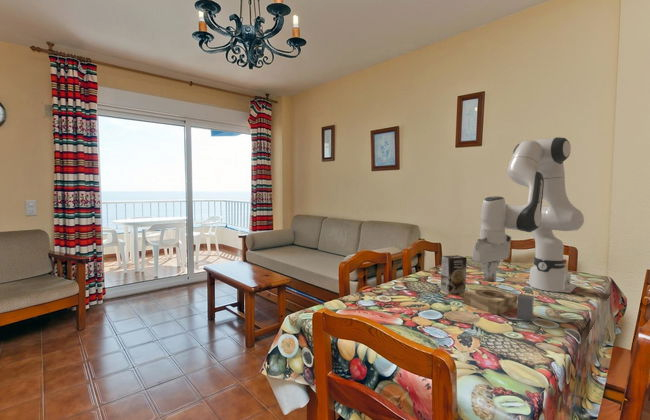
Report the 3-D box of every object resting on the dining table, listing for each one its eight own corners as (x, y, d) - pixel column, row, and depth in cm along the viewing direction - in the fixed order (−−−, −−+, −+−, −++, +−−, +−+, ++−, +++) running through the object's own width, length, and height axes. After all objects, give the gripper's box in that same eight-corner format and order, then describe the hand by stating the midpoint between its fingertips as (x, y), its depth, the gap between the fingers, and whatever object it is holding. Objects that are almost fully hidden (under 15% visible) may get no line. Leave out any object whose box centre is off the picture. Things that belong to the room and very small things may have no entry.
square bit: (518, 314, 121) (519, 293, 121) (532, 317, 118) (533, 296, 118) (516, 318, 118) (517, 296, 117) (531, 321, 115) (532, 299, 114)
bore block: (483, 298, 140) (483, 286, 140) (516, 308, 128) (517, 295, 128) (463, 303, 133) (463, 291, 132) (496, 315, 121) (497, 301, 121)
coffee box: (448, 294, 145) (449, 258, 144) (440, 289, 151) (441, 255, 150) (466, 292, 148) (467, 257, 147) (456, 288, 154) (457, 254, 153)
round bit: (488, 279, 133) (489, 259, 132) (498, 281, 129) (499, 261, 129) (481, 280, 130) (482, 260, 130) (492, 282, 127) (493, 262, 126)
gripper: (484, 240, 121) (482, 276, 121) (513, 237, 131) (512, 270, 132) (468, 237, 126) (467, 273, 127) (498, 235, 137) (496, 267, 138)
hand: (490, 272), depth 130 cm, fingers closed on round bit, 4 cm apart
